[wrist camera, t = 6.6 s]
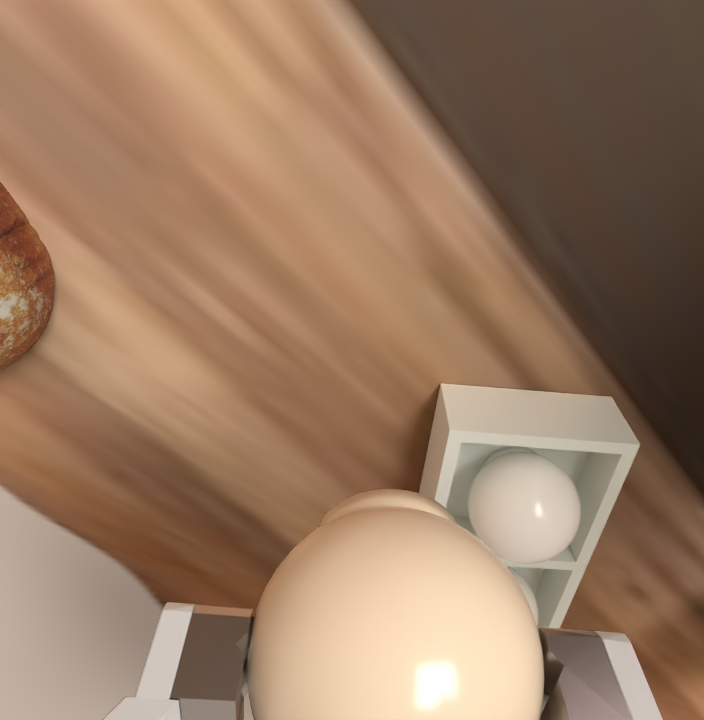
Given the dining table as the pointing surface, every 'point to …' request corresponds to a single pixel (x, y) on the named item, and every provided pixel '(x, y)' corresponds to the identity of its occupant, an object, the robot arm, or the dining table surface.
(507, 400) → the egg carton
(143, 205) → the dining table surface
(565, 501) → the white egg
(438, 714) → the tan egg
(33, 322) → the bread roll
